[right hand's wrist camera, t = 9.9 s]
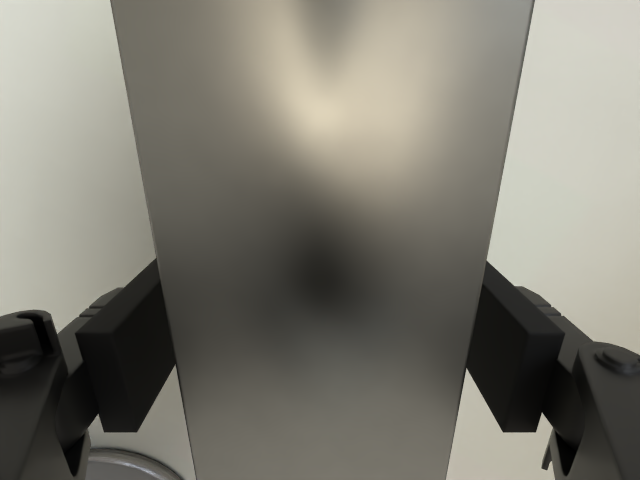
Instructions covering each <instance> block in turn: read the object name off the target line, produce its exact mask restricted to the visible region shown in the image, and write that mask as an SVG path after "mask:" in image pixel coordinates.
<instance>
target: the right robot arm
mask: <svg viewBox="0 0 640 480" xmlns="http://www.w3.org/2000/svg"><path fill="white" fill-rule="evenodd" d="M175 364H176V363H175V358H174V352H173V347H172V341H171V336H170V330H169V324H168V319H167V313H166V308H165V302H164V297H163V291H162V285H161V280H160V274H159V269H158V263H157V258H156V259H155V260H154V261H153V262H151V263H150V264H149V265H148V266H147V267H146V268H145V269H144V270H143V271H142V272H141V273H139V274H138V275H137V276H136V277H135V278H134V279H133V280H132V281H131V282H130V283H129V284H128V285H126V286H125V287H124V288H116V289H114V290H112V291H110V292H109V293H107V294H105V295H103V296H101V297H100V298H99V299H97V300H96V301H95V302H94V303H93V304H92V305H90V306H89V309H86V310H85V311H84V312H82V313H81V314H80V315H79V317H77V318H75V319H74V320H73V321H72V322H71V323H70V324H68V325H67V326H66V327H65V328H64V329H63V330H62V331H60V332H59V333H58V334H57V333H56V330H55V326H54V323H53V320H52V317H51V314H49V313H48V312H46V311H42V310H27V311H19V312H15V313H11V314H7V315H4V316H1V317H0V480H182V479H181V478H179V477H178V476H177V475H176V474H175V473H174V472H172V471H171V470H170V469H168V468H167V467H165V466H163V465H162V464H160V463H158V462H156V461H154V460H152V459H149V458H147V457H144V456H141V455H138V454H135V453H131V452H126V451H121V450H112V449H92V450H90V446H91V442H90V436H89V433H88V429H87V428H88V427H89V426H90V424H91V423H92V422H93V420H94V419H95V417H96V416H97V415H98V413H99V417H100V420H101V423H102V427H103V430H104V432H137V431H138V430H139V428H140V426H141V424H142V422H143V421H144V419H145V417H146V415H147V414H148V412H149V410H150V408H151V406H152V405H153V403H154V401H155V399H156V398H157V396H158V394H159V392H160V390H161V389H162V387H163V385H164V383H165V382H166V380H167V378H168V376H169V374H170V373H171V371H172V369H173V367H174V366H175ZM467 369H468V371H469V373H470V374H471V376H472V378H473V380H474V382H475V383H476V385H477V387H478V389H479V390H480V392H481V394H482V396H483V398H484V399H485V401H486V403H487V405H488V406H489V408H490V410H491V412H492V414H493V415H494V417H495V419H496V421H497V422H498V424H499V426H500V428H501V430H502V431H503V432H536V430H537V427H538V423H539V420H540V417H541V413H543V414H544V415H545V417H546V418H547V420H548V421H549V422H550V424H551V425H552V426H553V429H552V433H551V436H550V439H549V442H548V445H547V448H546V451H545V454H544V458H543V461H542V469H545V470H547V469H548V466H549V463H550V462H551V461H552V463H553V469H554V476H555V480H640V355H638V354H636V353H634V352H632V351H630V350H627V349H625V348H623V347H619V346H616V345H613V344H609V343H602V342H593V341H592V340H591V339H590V338H589V337H588V336H586V335H585V334H584V333H583V332H582V331H581V330H579V329H578V328H577V327H576V326H575V325H574V324H572V323H571V322H570V321H569V320H568V319H567V318H565V317H564V316H561V313H560V312H558V311H557V310H556V309H555V308H554V307H551V305H550V304H549V303H548V302H547V301H546V300H544V299H543V298H542V297H541V296H540V295H538V294H536V293H534V292H532V291H530V290H528V289H526V288H524V287H522V286H514V285H512V284H511V283H510V282H509V281H508V280H507V279H506V278H505V277H504V276H503V275H502V274H501V273H499V272H498V271H497V270H496V269H495V268H494V267H493V266H492V265H491V264H490V263H489V262H487V261H486V265H485V271H484V276H483V281H482V287H481V292H480V297H479V303H478V308H477V313H476V319H475V324H474V330H473V335H472V340H471V346H470V351H469V356H468V362H467Z"/></svg>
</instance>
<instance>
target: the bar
mask: <svg viewBox="0 0 640 480" xmlns="http://www.w3.org/2000/svg"><path fill="white" fill-rule="evenodd" d="M110 1H111V7H112V13H113V18H114V24H115V29H116V35H117V40H118V46H119V51H120V57H121V63H122V68H123V74H124V79H125V85H126V90H127V96H128V102H129V107H130V113H131V118H132V124H133V129H134V135H135V141H136V146H137V152H138V157H139V163H140V168H141V174H142V180H143V185H144V191H145V196H146V202H147V207H148V213H149V219H150V224H151V230H152V235H153V241H154V246H155V252H156V258H157V263H158V269H159V274H160V280H161V285H162V291H163V297H164V302H165V308H166V313H167V319H168V324H169V330H170V336H171V341H172V347H173V352H174V358H175V363H176V369H177V375H178V380H179V386H180V391H181V397H182V402H183V408H184V414H185V419H186V425H187V430H188V436H189V441H190V447H191V453H192V458H193V464H194V469H195V475H196V480H446V475H447V469H448V464H449V458H450V453H451V448H452V442H453V437H454V432H455V426H456V421H457V416H458V410H459V405H460V399H461V394H462V389H463V383H464V378H465V373H466V367H467V362H468V356H469V351H470V346H471V340H472V335H473V330H474V324H475V319H476V313H477V308H478V303H479V297H480V292H481V287H482V281H483V276H484V271H485V265H486V260H487V254H488V249H489V244H490V238H491V233H492V228H493V222H494V217H495V211H496V206H497V201H498V195H499V190H500V185H501V179H502V174H503V169H504V163H505V158H506V152H507V147H508V142H509V136H510V131H511V126H512V120H513V115H514V109H515V104H516V99H517V93H518V88H519V83H520V77H521V72H522V67H523V61H524V56H525V50H526V45H527V40H528V34H529V29H530V24H531V18H532V13H533V7H534V2H535V0H110Z"/></svg>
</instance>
